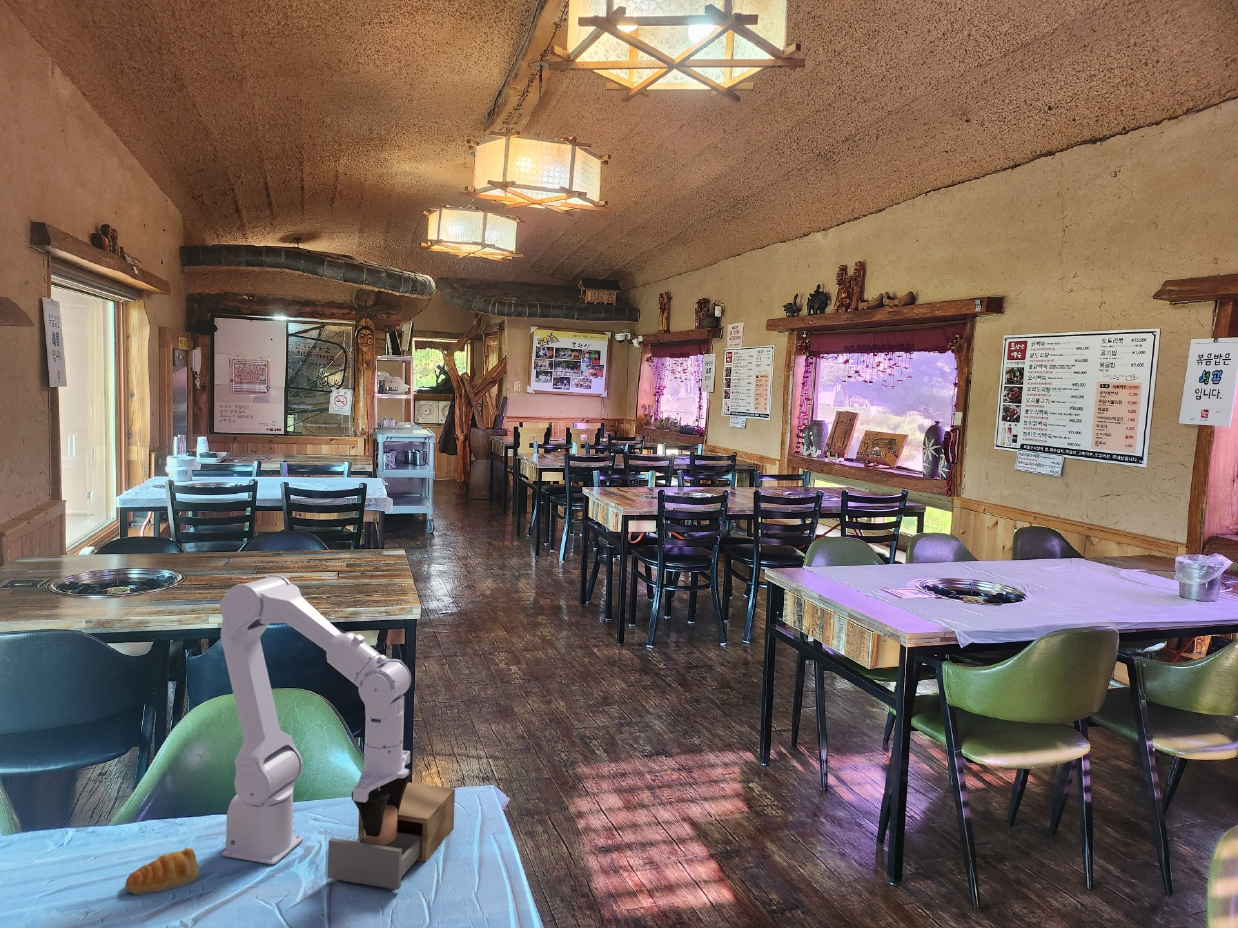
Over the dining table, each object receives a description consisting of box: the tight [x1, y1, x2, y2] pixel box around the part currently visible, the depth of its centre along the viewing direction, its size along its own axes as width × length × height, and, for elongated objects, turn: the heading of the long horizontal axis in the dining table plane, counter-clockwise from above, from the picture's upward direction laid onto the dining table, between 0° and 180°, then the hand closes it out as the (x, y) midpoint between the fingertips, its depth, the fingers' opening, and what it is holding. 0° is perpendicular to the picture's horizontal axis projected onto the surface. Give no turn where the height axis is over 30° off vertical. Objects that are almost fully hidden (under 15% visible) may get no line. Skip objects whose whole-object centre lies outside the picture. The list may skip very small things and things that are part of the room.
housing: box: [357, 782, 456, 863], centre depth 133 cm, size 11×12×7 cm
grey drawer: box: [327, 832, 422, 890], centre depth 124 cm, size 11×12×6 cm
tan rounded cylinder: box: [364, 804, 397, 845], centre depth 124 cm, size 5×5×4 cm
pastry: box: [124, 847, 200, 895], centre depth 118 cm, size 9×7×4 cm
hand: (381, 825), depth 124 cm, fingers closed on tan rounded cylinder, 5 cm apart
